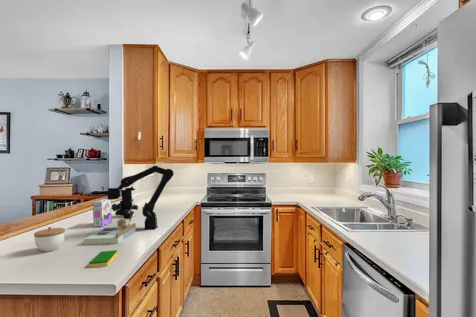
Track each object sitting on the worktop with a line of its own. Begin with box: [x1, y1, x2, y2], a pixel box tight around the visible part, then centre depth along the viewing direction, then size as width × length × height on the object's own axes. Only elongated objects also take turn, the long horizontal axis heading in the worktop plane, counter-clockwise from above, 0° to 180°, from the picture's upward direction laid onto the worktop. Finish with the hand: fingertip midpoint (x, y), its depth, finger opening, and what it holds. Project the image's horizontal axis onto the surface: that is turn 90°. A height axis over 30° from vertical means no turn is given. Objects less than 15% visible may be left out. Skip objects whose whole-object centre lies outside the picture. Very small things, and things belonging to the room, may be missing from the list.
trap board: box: [83, 222, 137, 246], centre depth 157 cm, size 18×23×5 cm
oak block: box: [116, 218, 131, 230], centre depth 165 cm, size 5×5×5 cm
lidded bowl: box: [33, 226, 66, 253], centre depth 140 cm, size 13×13×11 cm
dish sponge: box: [88, 250, 118, 268], centre depth 121 cm, size 7×14×2 cm, turn 7°
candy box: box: [92, 198, 113, 228], centre depth 191 cm, size 14×6×16 cm, turn 179°
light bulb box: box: [118, 201, 137, 218], centre depth 216 cm, size 11×7×11 cm, turn 65°
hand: (127, 224), depth 171 cm, fingers closed
